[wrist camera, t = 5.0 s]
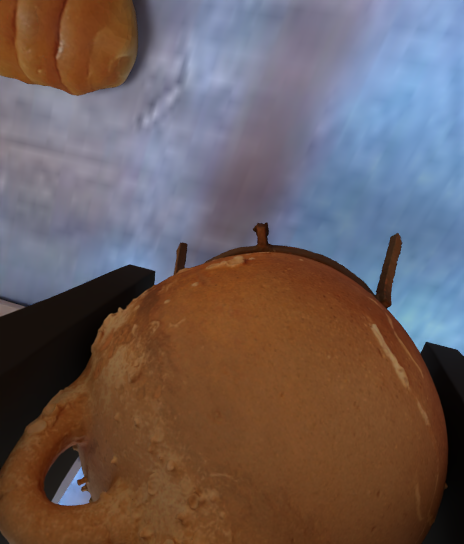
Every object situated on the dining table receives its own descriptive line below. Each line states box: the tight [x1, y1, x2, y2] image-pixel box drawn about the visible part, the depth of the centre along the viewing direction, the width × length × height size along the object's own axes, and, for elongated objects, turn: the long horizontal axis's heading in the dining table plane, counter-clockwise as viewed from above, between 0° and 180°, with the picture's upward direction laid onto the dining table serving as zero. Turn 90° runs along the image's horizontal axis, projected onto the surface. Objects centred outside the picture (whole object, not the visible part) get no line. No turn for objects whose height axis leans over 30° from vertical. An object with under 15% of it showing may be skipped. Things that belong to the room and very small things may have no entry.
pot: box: [0, 223, 448, 544], centre depth 8 cm, size 6×8×6 cm
